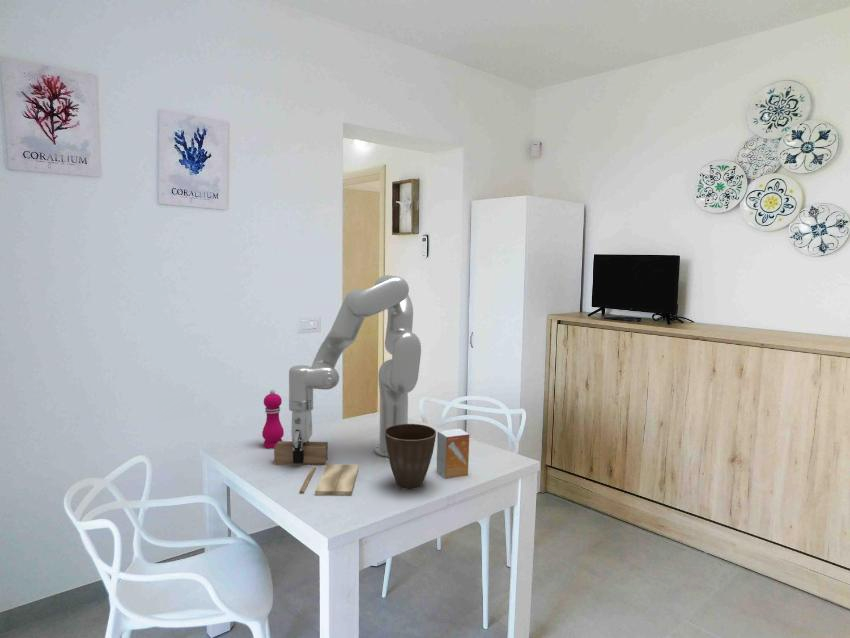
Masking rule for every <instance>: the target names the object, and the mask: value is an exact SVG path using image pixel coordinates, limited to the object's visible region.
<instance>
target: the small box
mask: <svg viewBox="0 0 850 638" xmlns="http://www.w3.org/2000/svg"><path fill="white" fill-rule="evenodd" d="M436 437H437V439H436V442H437V443H436V473H438V474H439V475H441V477H442V478H444V479H448V478H455V476H456V477H462V475H463V476H468V475H469V461H470V460H469V456H470V454H469V453H470V433H468V432H466V431H465V430H464V429H461V428H455V429H445V430H437V432H436Z"/></svg>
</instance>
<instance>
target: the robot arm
mask: <svg viewBox="0 0 850 638" xmlns="http://www.w3.org/2000/svg"><path fill="white" fill-rule="evenodd" d="M409 291H410V287H409V284H408V282H407V281H406V279H404V278H402V277H400V276H396V275H382V276H379V278H377V279H376V281H375V284H374V285H373V286H371V287H368V288H364V289H359V288H357V289H352V290H350V291H349V292H348V293H347V294H346V295H345V297H344V298H343V302H342V303H341V306H340V308H339V311H338V313H337V315H336V316H335V320H334V322H333V324H332V326H331V328H330V331H329V332H328V333H327V335H326V337H325V338H324V340H323V342H322V343H321V345H320V347H319V349H318V351H317V352H316V354H315V357H314V359H313V362H312V364H311V366H310V365H304V364H302V365H299V364H298V365H293V366H291V367H289V371H288V410H289V412H291V441H293V442H294V445H293V463H303V462H304V450H303V442H305V443H306V442H310V439H311V437H312V435H313V416H312V411H313V410H314V390H324V391H325V390H326V391H327V390H332V389H333V388H335V387H336V386H337V385H338V384H339V381H340V375H339V373H338V370H336V368H335V367H336V365H337V363H338V361H339V358H340V356H341V355H342V353H343V352H344V350H346V348H348V347H349V346H351V345H352V344H353V343H354V342H355V341H356V340H357V339H356V338H357V337H358V335H359V333H360V330H361V327H362V325H363V324H364V320H365V319H366V318H368V317H371V316H374V315H376V314H380V313H382V312H384V311H386V310H387V323H386V330H385V340H384V347H385V350H386V351H387V353H388V354H390V355H391V358H390V359H388V360H385V361H384V362H383V363H382V364H381V365H380V367H379V368H378V369H379V370H378V377H377V378H378V388H379V444H377V445H376V446H374V452H375V454H376V455H379V456H382V457H386V458H387V457H388V452H387V446H386V439H385V430H386V429H387V428H389V427H391V426H394V425H399V424H409V423H408V419H409V413H408V412H409V411H408V410H409V396H408V394H409V393H410V392H412V391H413V390H414V389H415V387H416V385H417V384H418V381H419V380H418V379H419V375H420V373H419V372H420V365H421V357H422V356H421V355H422V345H421V341H420V338H419V337H418V336H417V334H415V333H414V332H413V325H414V324H413V323H414V321H413V320H414V307H413V302H412V300H411V297H410V296H409ZM299 443H301V446H300V444H299ZM388 458H389V457H388Z"/></svg>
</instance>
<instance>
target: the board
mask: <svg viewBox="0 0 850 638" xmlns="http://www.w3.org/2000/svg"><path fill="white" fill-rule="evenodd" d="M316 469H317V468H316V467H315V466H314V467H313V466H312V467H311V468H310V469H309V472H308V473H307V476H306V477H305V479H304V481H303V484H302V485H301V487H300V489H299V493H298V494H305V492H306V489H307V487H308V486H309V483H310V481H311V479H312V477H313V476H314V473H315V472H316ZM359 470H360V464H335V463H334V464H330V463H329V464H326V465H325V468H324V471H323V473H322V475H321V476H320V477H321V478H320V480H319V482H318V484H317V486H316V489H315V491H314V492H315V494H314V495H315V496H347V497H348V496H352V495H353V491H354V488H355V484H356V481H357V477H358V473H359Z"/></svg>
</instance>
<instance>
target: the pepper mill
mask: <svg viewBox="0 0 850 638" xmlns="http://www.w3.org/2000/svg"><path fill="white" fill-rule="evenodd" d="M263 405H264V407H265V408H264V409H265V414H266V420H265V424H264V426H263V428H262V433H261V437H262V439H264V440H263V447H264V448H265V447H266V448H265V449H269V448H274V447H275V445H276V444H277V443H278V441H283V439H282V438H283V437H284V434H285V431H284V427H283V425H282V423H281V421H280V412H281V407H280V406H281V405H282V397H281V396H280V395H279V394H278V393H276V391H275V389H270V391H269V393H268V394H267V395H266V396H265V397H264V398H263Z"/></svg>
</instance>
